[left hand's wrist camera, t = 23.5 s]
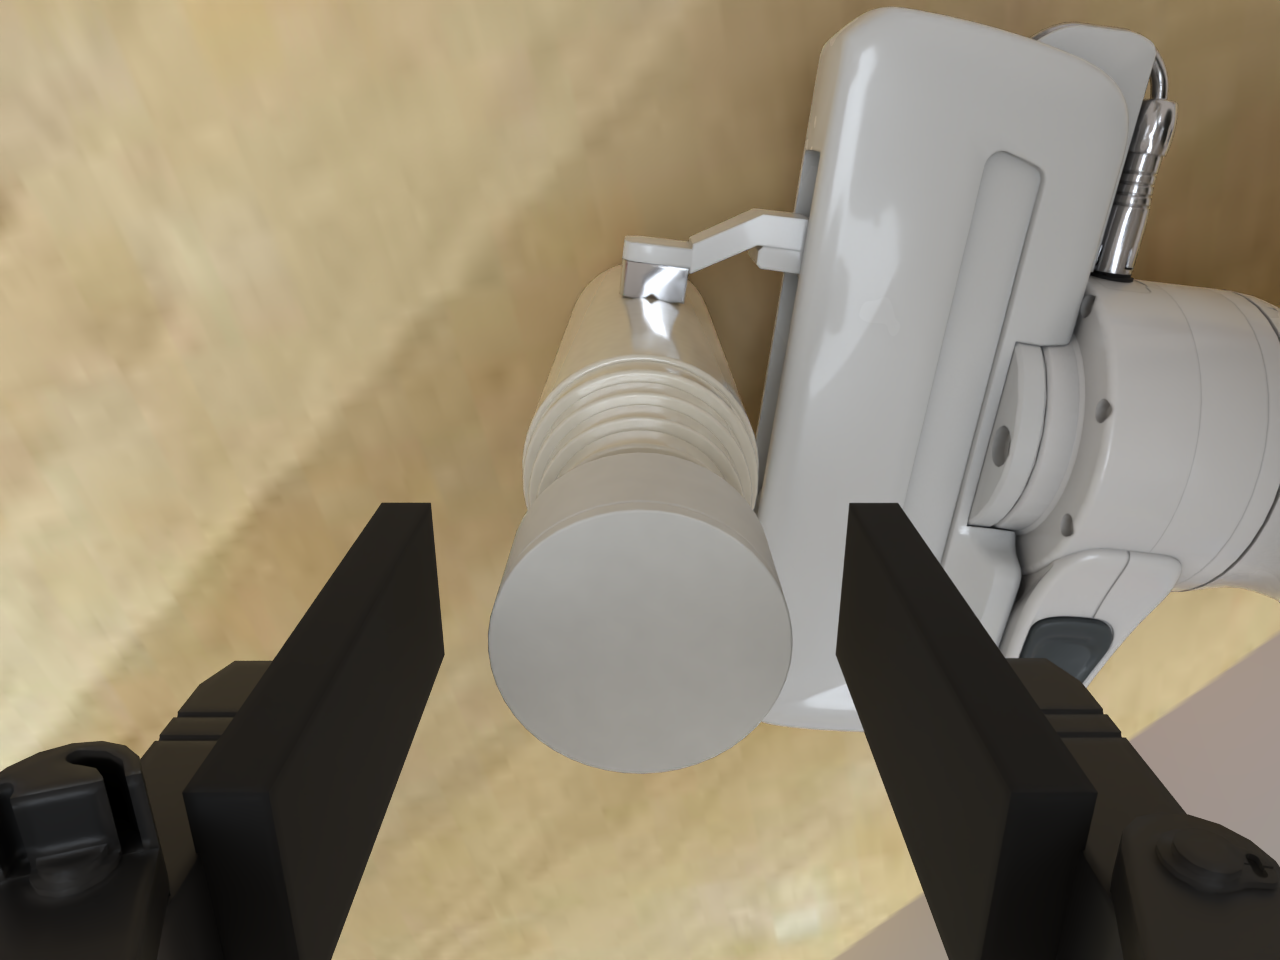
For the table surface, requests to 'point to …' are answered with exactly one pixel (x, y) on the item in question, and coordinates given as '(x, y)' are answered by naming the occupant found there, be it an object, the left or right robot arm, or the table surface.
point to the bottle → (639, 391)
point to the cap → (640, 616)
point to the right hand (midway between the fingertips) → (609, 378)
